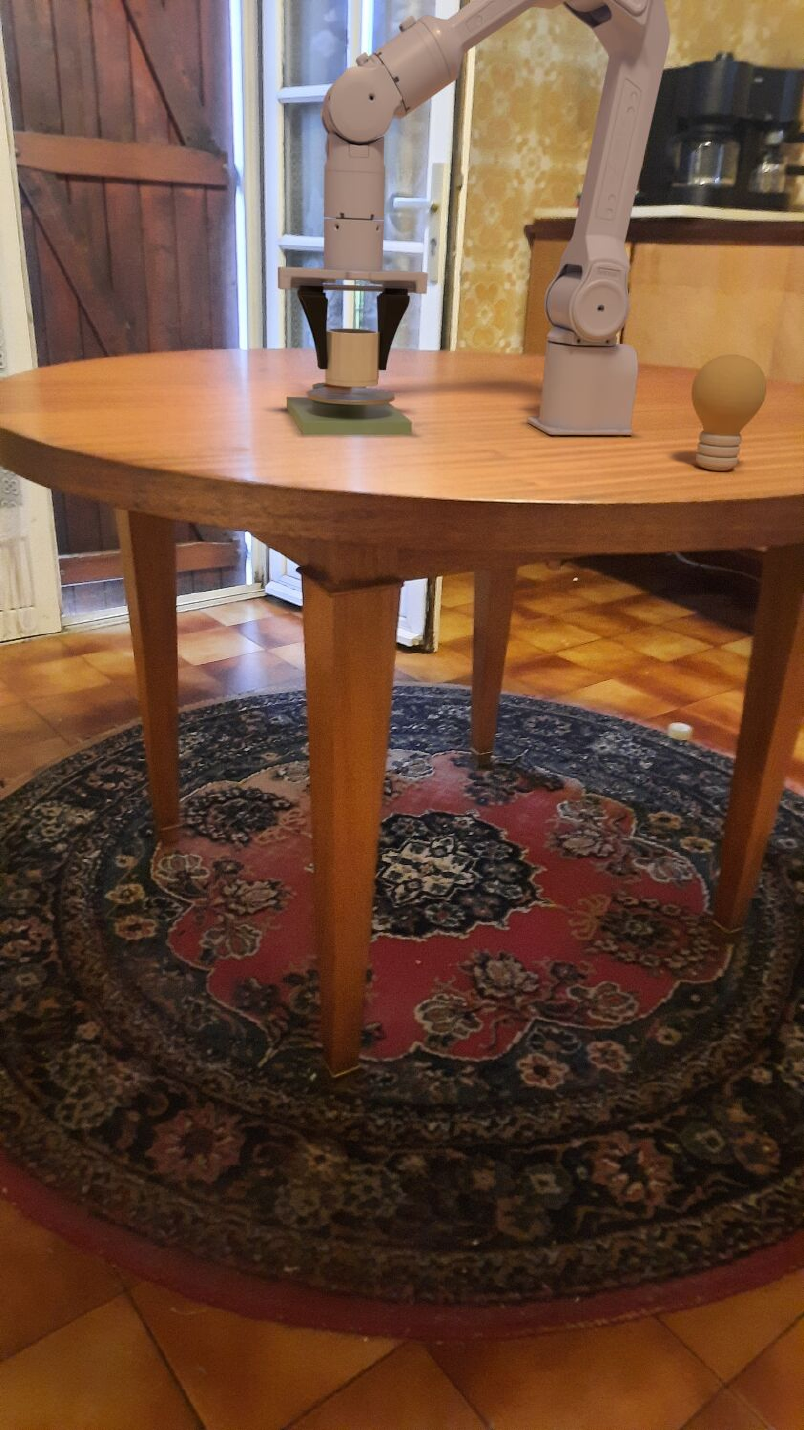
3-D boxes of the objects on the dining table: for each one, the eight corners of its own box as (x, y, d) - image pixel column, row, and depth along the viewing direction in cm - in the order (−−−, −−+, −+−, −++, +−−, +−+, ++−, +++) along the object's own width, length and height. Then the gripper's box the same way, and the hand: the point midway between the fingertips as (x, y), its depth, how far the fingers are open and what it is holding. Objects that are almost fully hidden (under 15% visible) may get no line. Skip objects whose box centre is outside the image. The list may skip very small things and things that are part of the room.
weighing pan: (385, 391, 109) (385, 387, 109) (402, 405, 101) (403, 401, 101) (302, 390, 107) (301, 386, 107) (312, 404, 100) (313, 400, 99)
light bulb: (740, 479, 90) (762, 361, 86) (670, 468, 93) (688, 354, 89) (758, 467, 95) (780, 355, 91) (691, 458, 98) (709, 348, 94)
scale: (286, 409, 114) (286, 381, 113) (382, 410, 116) (383, 382, 115) (302, 435, 101) (302, 404, 99) (411, 435, 103) (412, 405, 102)
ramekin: (372, 379, 107) (374, 329, 104) (382, 387, 102) (384, 334, 100) (321, 379, 106) (322, 327, 103) (329, 386, 101) (329, 333, 99)
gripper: (282, 216, 92) (283, 373, 98) (437, 223, 95) (430, 375, 101) (274, 216, 98) (276, 363, 104) (420, 222, 101) (414, 365, 107)
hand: (351, 368), depth 103 cm, fingers closed on ramekin, 5 cm apart
